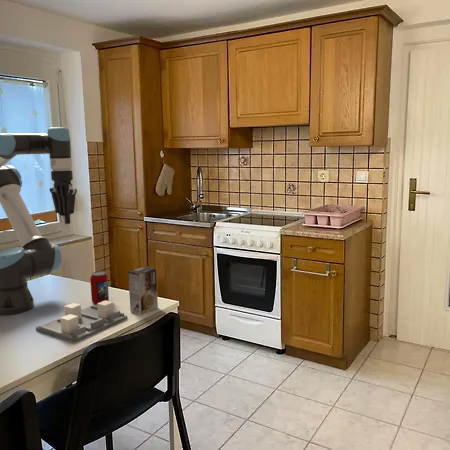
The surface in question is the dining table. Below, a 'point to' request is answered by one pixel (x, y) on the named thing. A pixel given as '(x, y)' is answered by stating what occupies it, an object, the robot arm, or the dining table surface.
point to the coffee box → (143, 290)
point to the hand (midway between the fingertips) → (66, 232)
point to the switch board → (83, 325)
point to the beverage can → (99, 287)
